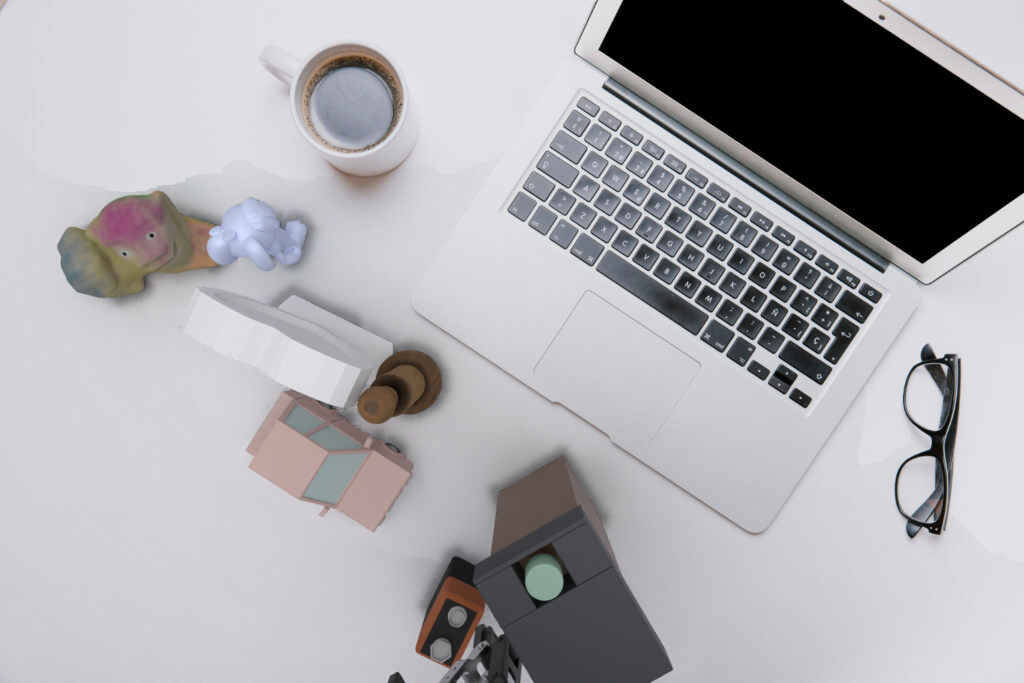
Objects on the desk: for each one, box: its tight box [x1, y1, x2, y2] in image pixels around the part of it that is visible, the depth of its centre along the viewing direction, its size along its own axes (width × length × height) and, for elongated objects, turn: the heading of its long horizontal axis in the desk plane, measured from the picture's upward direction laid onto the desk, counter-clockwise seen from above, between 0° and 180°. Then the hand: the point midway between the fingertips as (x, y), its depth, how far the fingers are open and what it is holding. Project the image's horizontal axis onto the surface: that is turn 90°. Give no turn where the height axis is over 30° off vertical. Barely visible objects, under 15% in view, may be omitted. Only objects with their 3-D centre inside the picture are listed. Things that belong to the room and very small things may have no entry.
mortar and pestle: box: [356, 349, 443, 425], centre depth 61 cm, size 7×6×18 cm
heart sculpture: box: [177, 286, 394, 409], centre depth 61 cm, size 16×5×18 cm, turn 64°
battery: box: [414, 555, 486, 670], centre depth 66 cm, size 4×7×10 cm, turn 154°
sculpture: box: [56, 189, 220, 299], centre depth 65 cm, size 15×8×10 cm, turn 114°
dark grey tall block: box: [473, 454, 674, 683], centre depth 59 cm, size 13×9×24 cm
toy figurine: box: [207, 196, 308, 272], centre depth 64 cm, size 7×6×12 cm
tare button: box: [525, 553, 563, 601], centre depth 47 cm, size 3×3×2 cm
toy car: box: [245, 389, 414, 533], centre depth 66 cm, size 9×15×10 cm, turn 57°
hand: (443, 657), depth 58 cm, fingers open, 8 cm apart
